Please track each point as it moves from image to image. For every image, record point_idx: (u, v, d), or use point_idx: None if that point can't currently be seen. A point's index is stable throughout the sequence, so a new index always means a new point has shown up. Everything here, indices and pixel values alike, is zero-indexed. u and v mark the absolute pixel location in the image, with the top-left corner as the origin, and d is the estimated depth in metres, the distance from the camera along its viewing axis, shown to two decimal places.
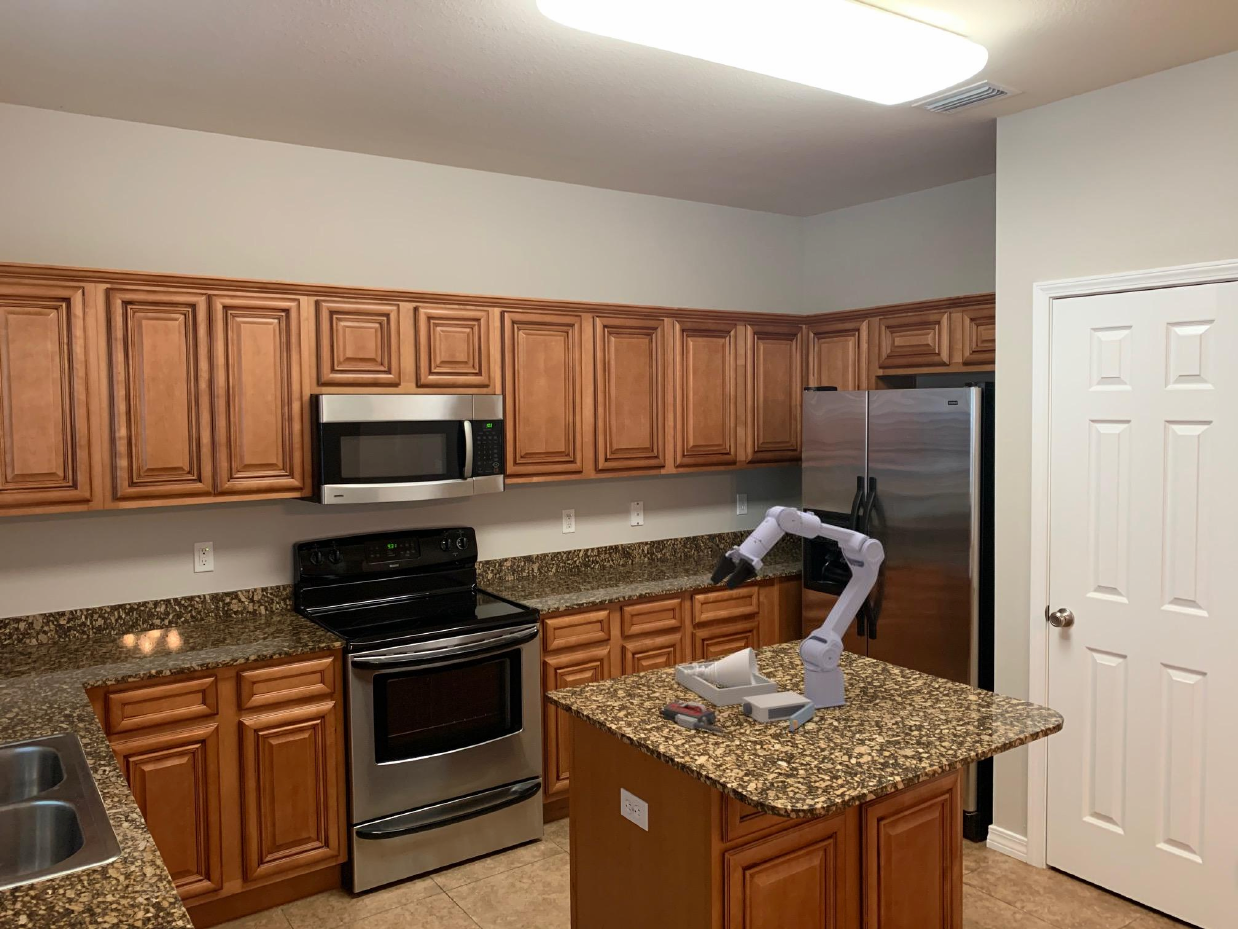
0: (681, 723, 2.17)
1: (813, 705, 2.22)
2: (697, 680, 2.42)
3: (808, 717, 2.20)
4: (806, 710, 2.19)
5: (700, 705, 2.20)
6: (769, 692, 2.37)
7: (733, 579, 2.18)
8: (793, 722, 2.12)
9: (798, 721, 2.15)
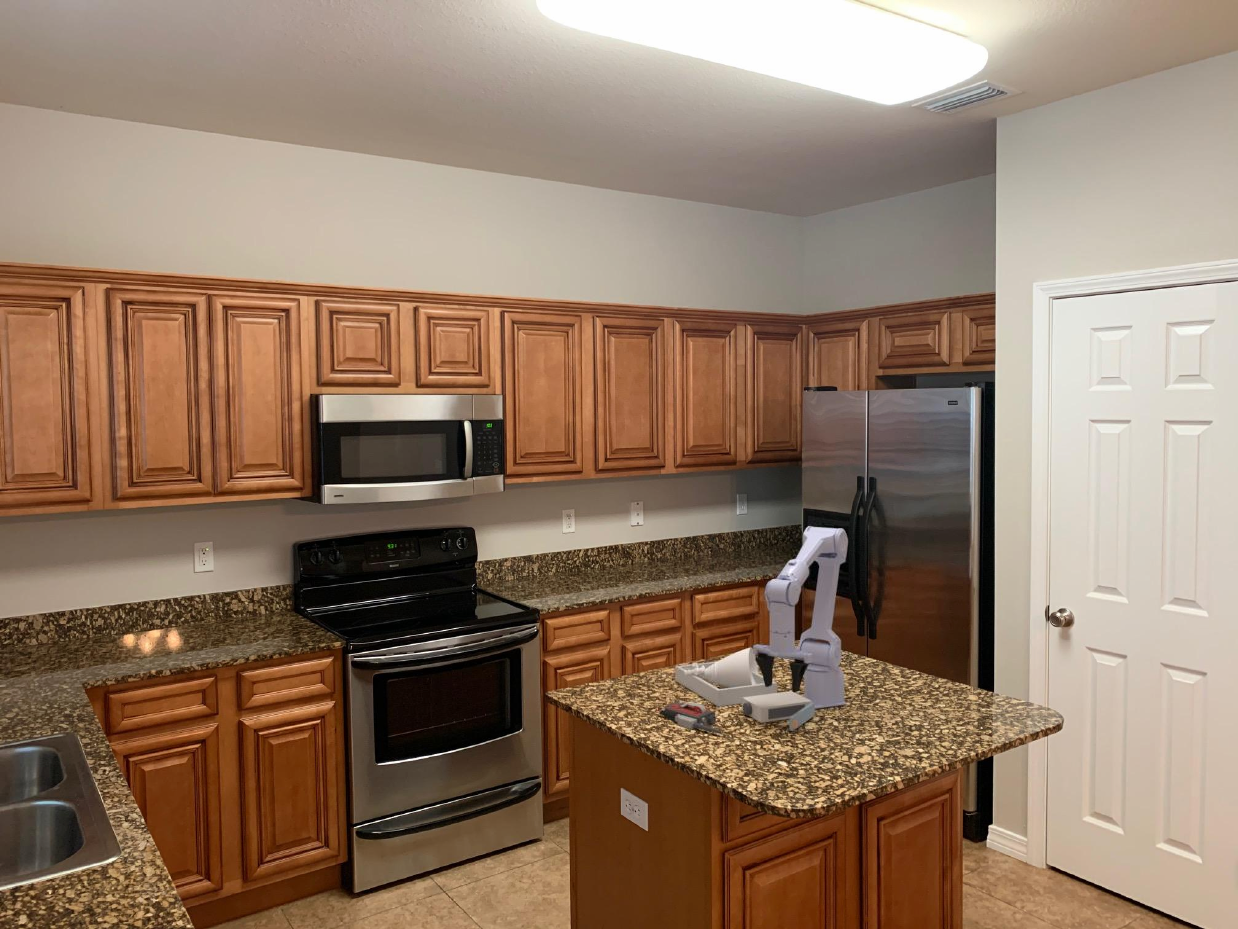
0: (680, 723, 2.17)
1: (813, 705, 2.22)
2: (697, 680, 2.42)
3: (808, 717, 2.20)
4: (806, 710, 2.19)
5: (700, 705, 2.20)
6: (769, 692, 2.37)
7: (796, 683, 2.14)
8: (793, 722, 2.12)
9: (798, 721, 2.15)
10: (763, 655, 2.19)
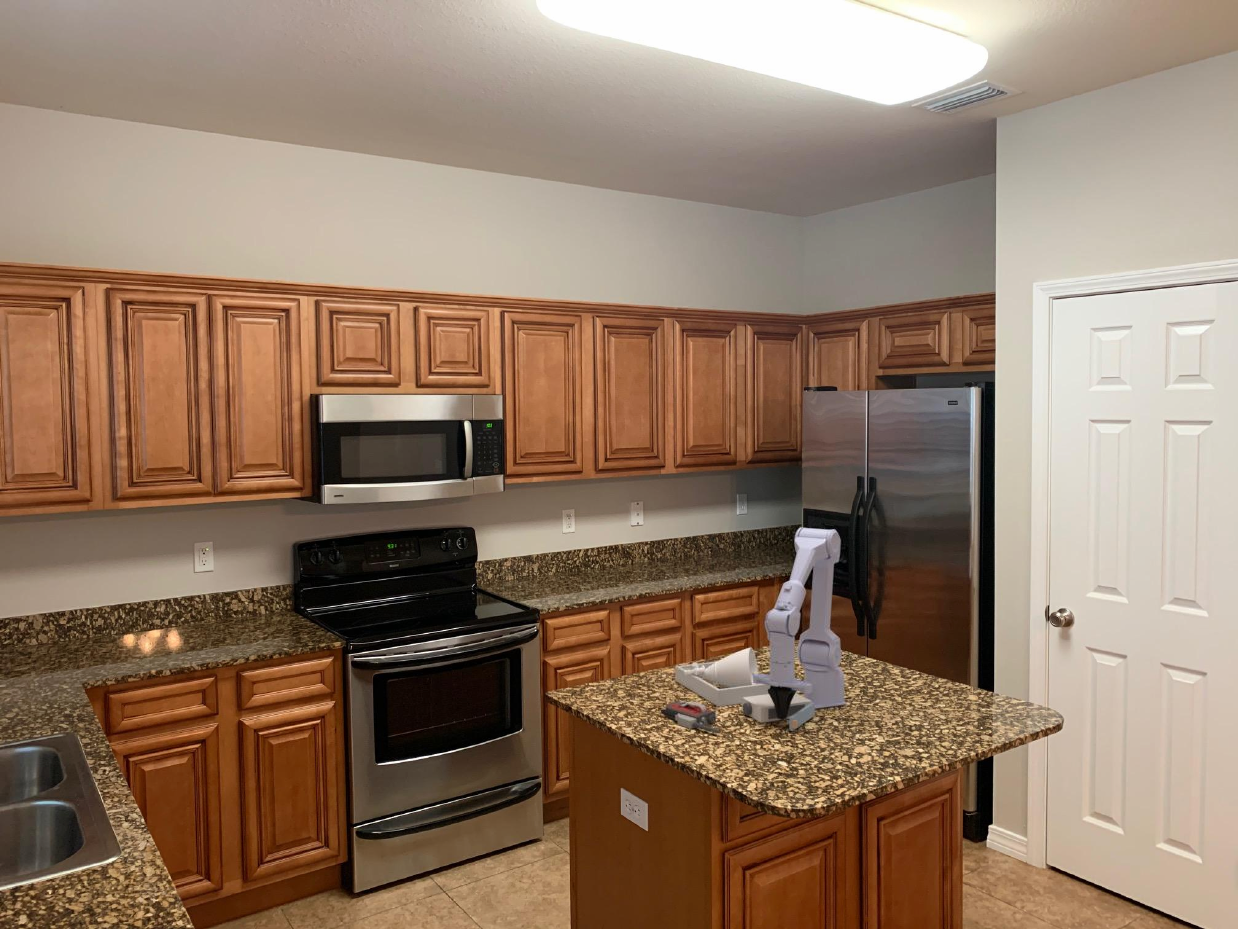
0: (680, 723, 2.18)
1: (813, 705, 2.22)
2: (697, 680, 2.42)
3: (808, 717, 2.20)
4: (806, 710, 2.19)
5: (700, 705, 2.20)
6: None
7: (783, 710, 2.17)
8: (793, 722, 2.12)
9: (798, 721, 2.15)
10: (775, 687, 2.18)
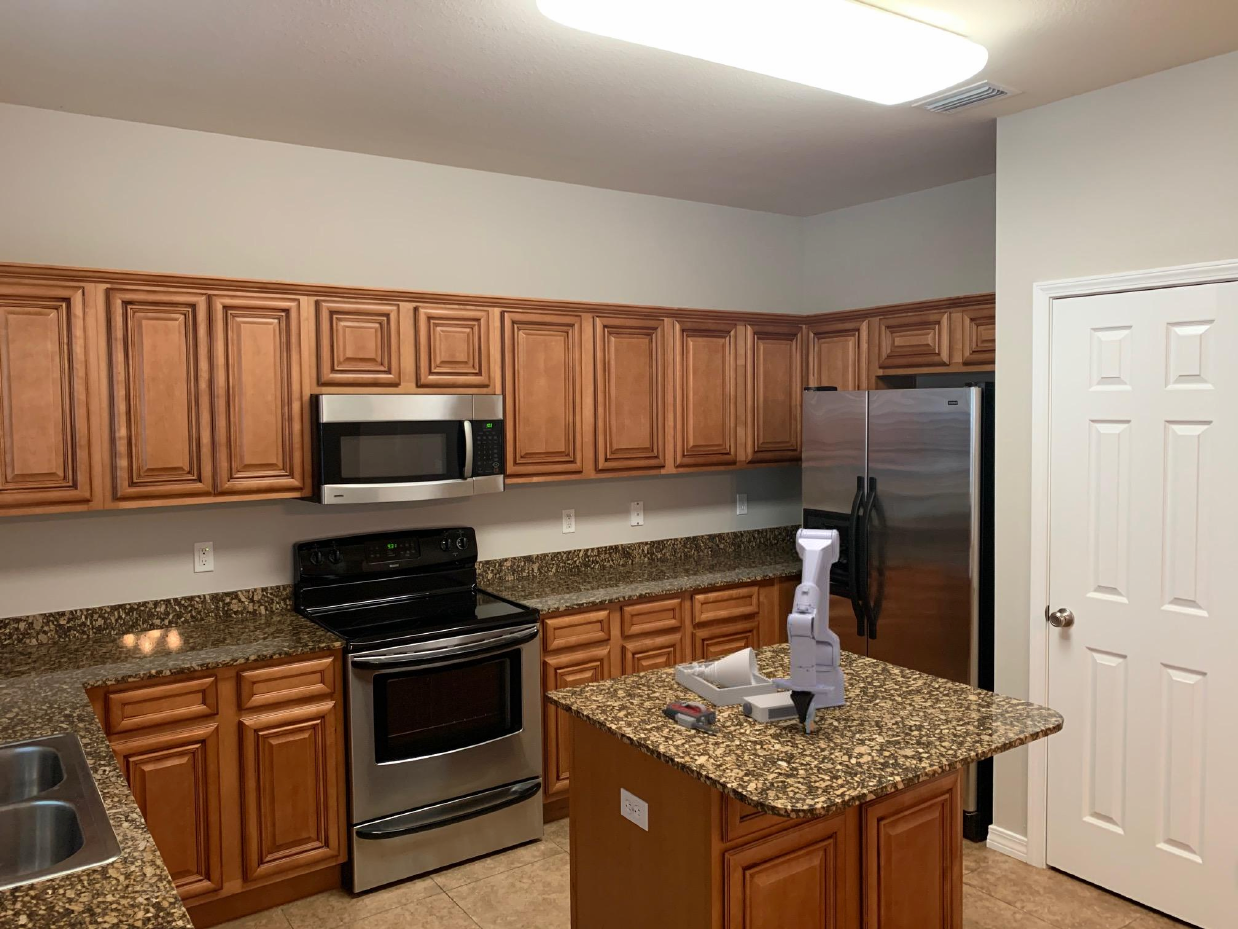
0: (680, 722, 2.18)
1: (814, 705, 2.22)
2: (697, 680, 2.42)
3: (813, 717, 2.20)
4: (813, 711, 2.18)
5: (700, 705, 2.20)
6: (769, 692, 2.37)
7: (803, 715, 2.14)
8: (810, 724, 2.11)
9: None
10: (797, 692, 2.14)
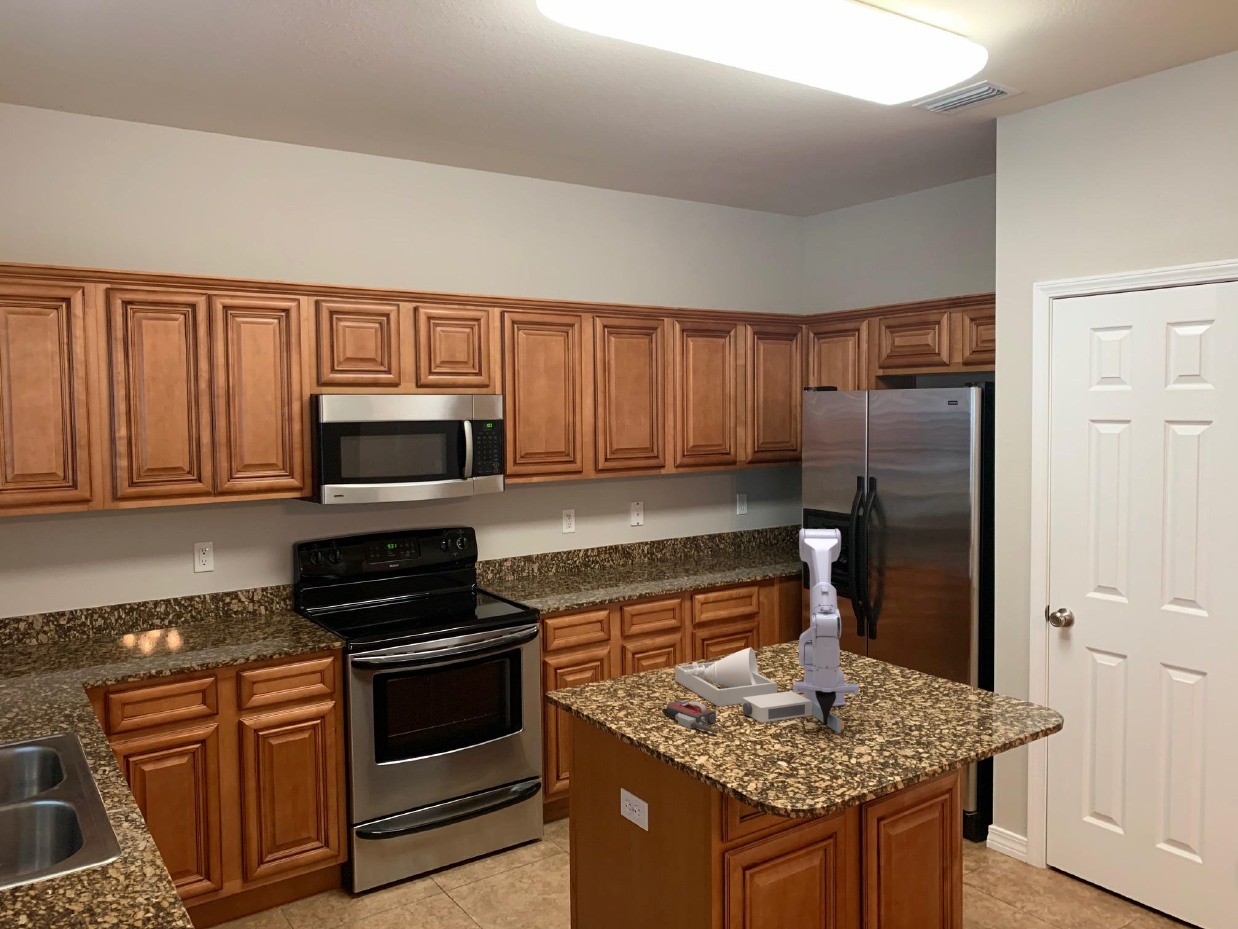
0: (680, 722, 2.18)
1: None
2: (697, 680, 2.42)
3: None
4: None
5: (700, 705, 2.20)
6: (769, 692, 2.37)
7: None
8: (841, 723, 2.11)
9: None
10: (822, 693, 2.13)
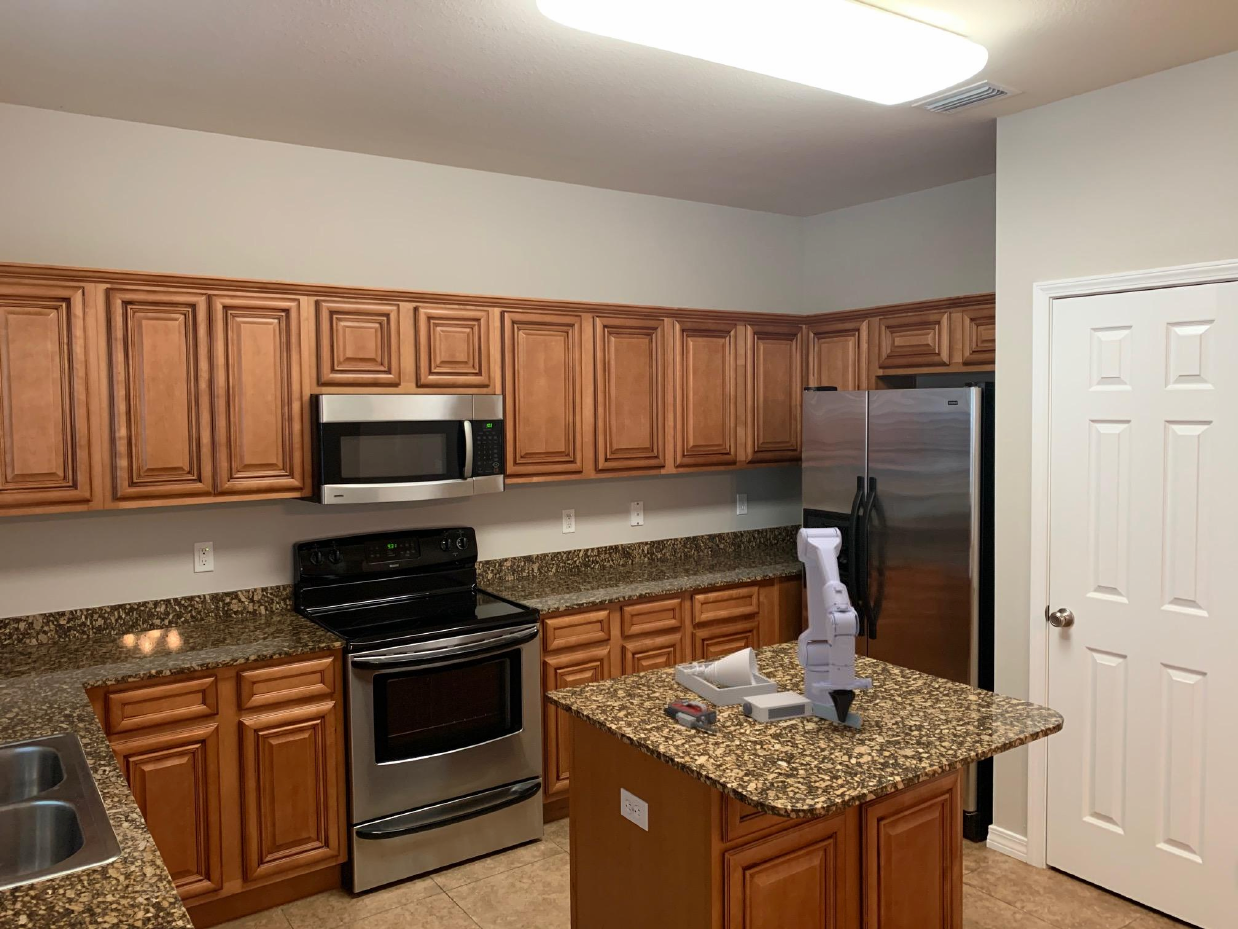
0: (680, 722, 2.19)
1: None
2: (697, 680, 2.42)
3: None
4: None
5: (701, 704, 2.20)
6: (769, 692, 2.37)
7: None
8: (861, 719, 2.14)
9: None
10: (840, 691, 2.14)
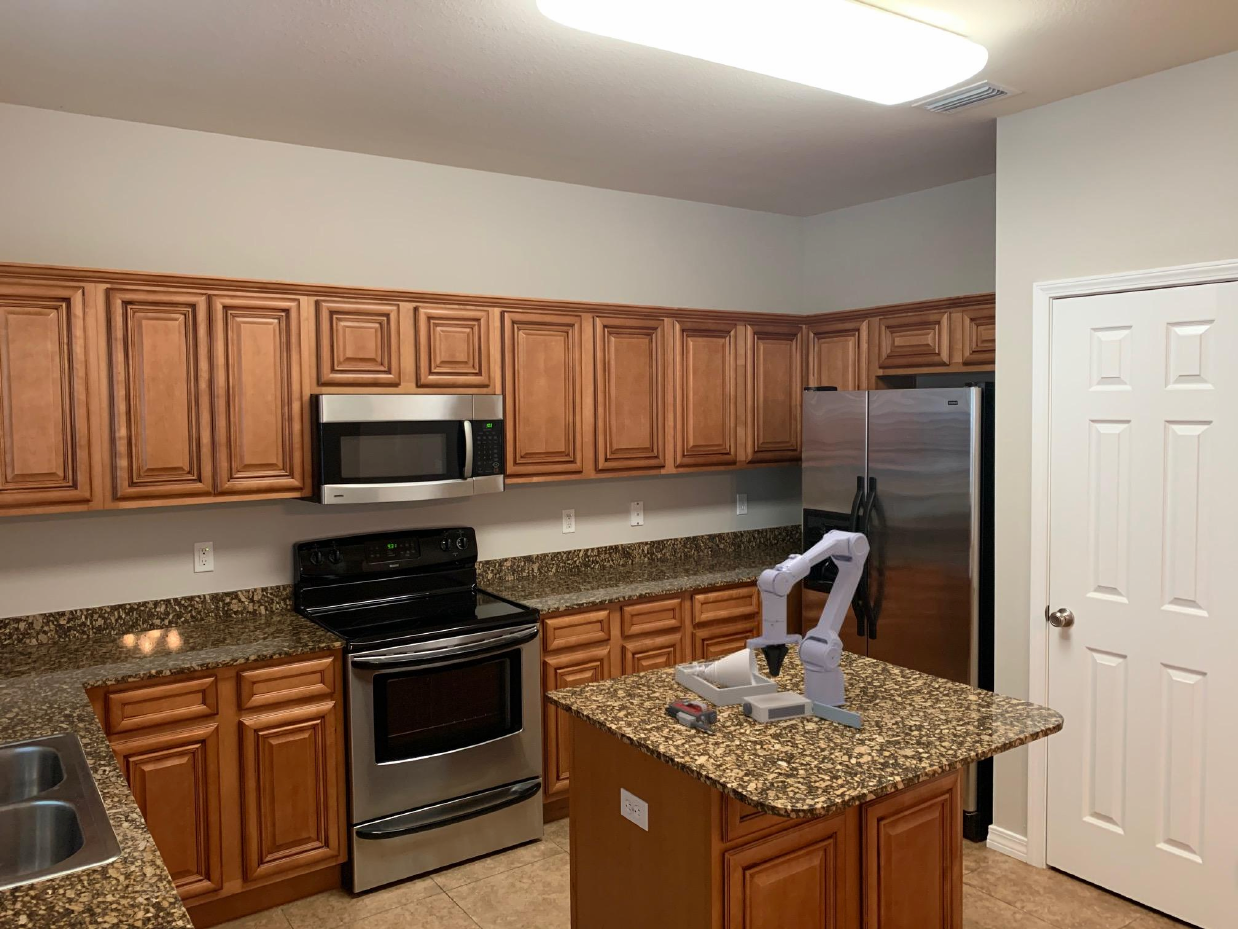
0: (680, 721, 2.19)
1: None
2: (697, 680, 2.42)
3: None
4: None
5: (701, 704, 2.21)
6: (769, 692, 2.37)
7: (770, 666, 2.26)
8: (861, 719, 2.14)
9: None
10: None
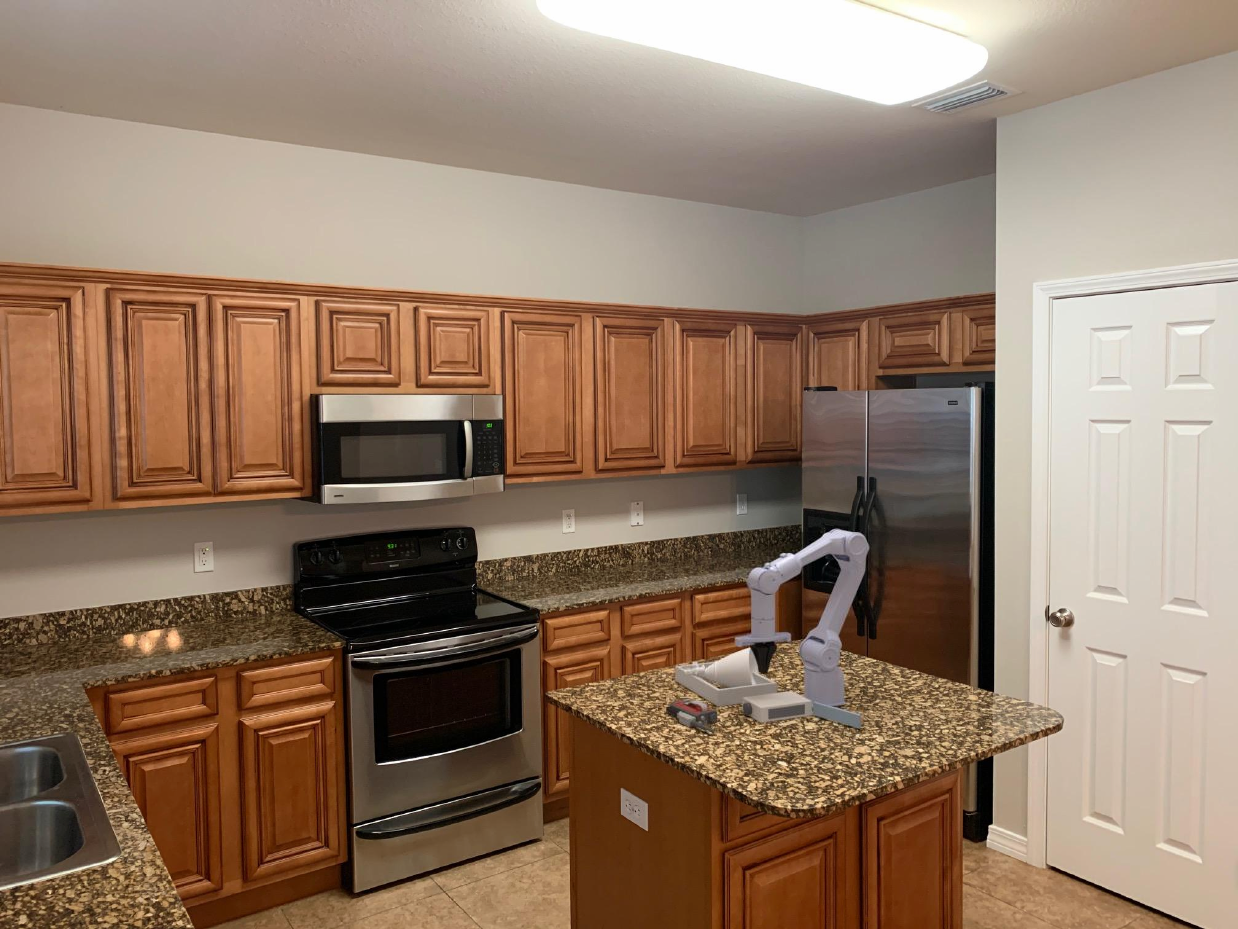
0: (680, 720, 2.19)
1: None
2: (697, 680, 2.42)
3: None
4: None
5: (701, 704, 2.21)
6: (769, 692, 2.37)
7: (758, 664, 2.28)
8: (861, 719, 2.14)
9: None
10: None
